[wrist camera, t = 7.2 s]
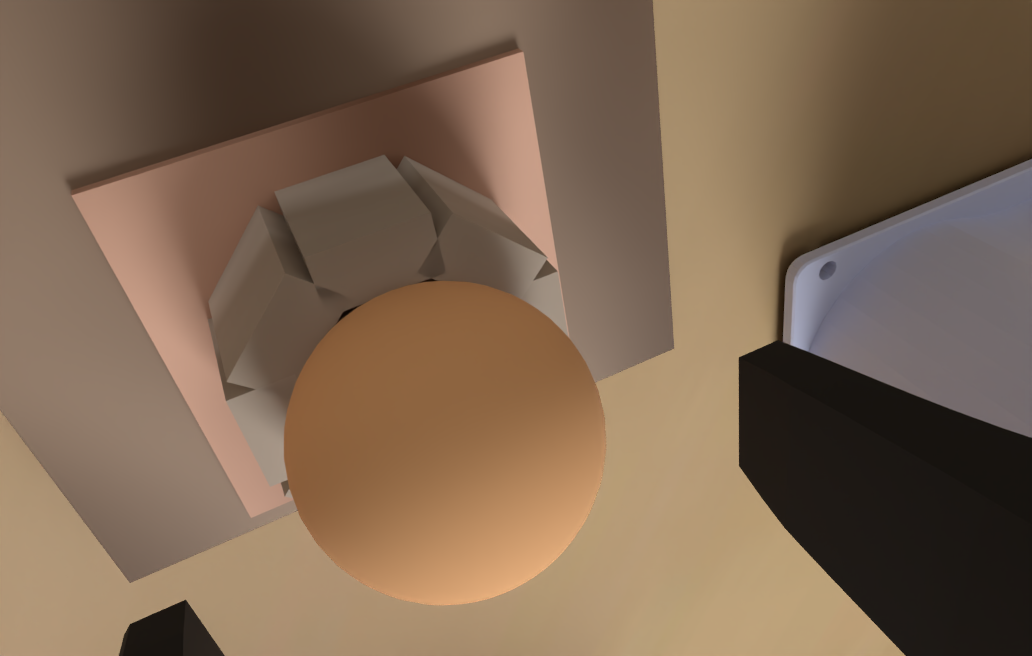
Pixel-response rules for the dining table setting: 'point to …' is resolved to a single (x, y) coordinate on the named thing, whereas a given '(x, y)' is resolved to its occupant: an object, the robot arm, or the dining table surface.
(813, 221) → the dining table surface
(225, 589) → the dining table surface
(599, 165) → the rack
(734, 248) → the dining table surface
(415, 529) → the ball
